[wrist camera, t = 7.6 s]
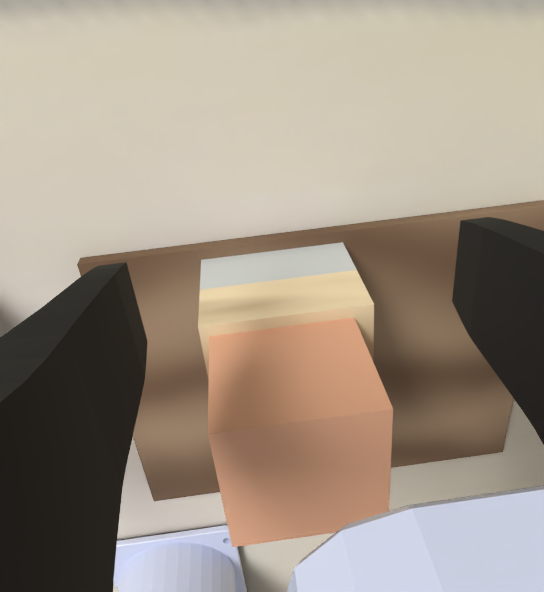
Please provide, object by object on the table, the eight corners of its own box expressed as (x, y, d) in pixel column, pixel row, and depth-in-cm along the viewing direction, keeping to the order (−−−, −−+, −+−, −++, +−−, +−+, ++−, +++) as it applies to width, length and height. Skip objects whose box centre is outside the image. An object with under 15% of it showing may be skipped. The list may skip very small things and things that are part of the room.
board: (497, 444, 30) (502, 451, 30) (154, 492, 29) (154, 501, 29) (544, 200, 22) (552, 205, 22) (80, 258, 22) (77, 264, 21)
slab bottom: (345, 354, 25) (357, 389, 23) (221, 371, 25) (222, 407, 23) (342, 242, 22) (356, 270, 20) (201, 259, 22) (199, 289, 19)
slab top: (357, 389, 23) (372, 431, 21) (222, 407, 23) (222, 451, 20) (356, 270, 20) (374, 304, 18) (199, 289, 19) (197, 326, 17)
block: (355, 423, 20) (388, 524, 16) (228, 440, 20) (232, 547, 16) (354, 317, 18) (393, 408, 14) (209, 336, 18) (207, 433, 14)
